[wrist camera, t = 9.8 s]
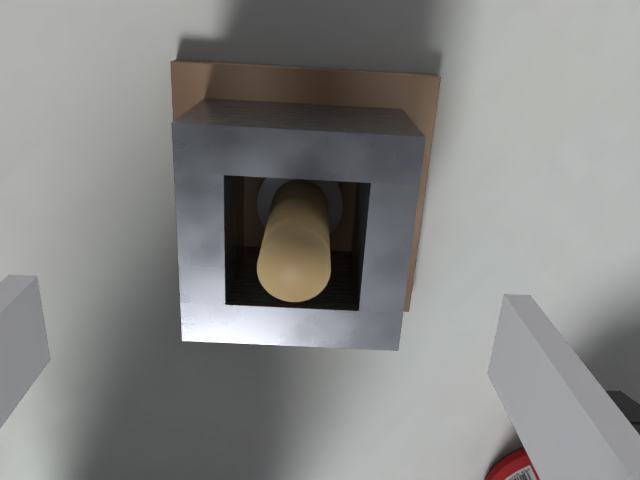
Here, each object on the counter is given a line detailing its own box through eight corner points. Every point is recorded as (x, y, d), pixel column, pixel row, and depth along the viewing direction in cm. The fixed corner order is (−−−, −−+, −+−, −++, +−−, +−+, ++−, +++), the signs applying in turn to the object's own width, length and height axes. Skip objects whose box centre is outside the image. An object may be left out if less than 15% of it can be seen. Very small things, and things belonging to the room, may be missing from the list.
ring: (208, 276, 28) (182, 340, 23) (204, 97, 25) (171, 122, 19) (382, 284, 29) (398, 350, 23) (402, 109, 25) (426, 136, 20)
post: (185, 291, 30) (134, 400, 22) (175, 59, 25) (106, 84, 17) (406, 302, 30) (439, 413, 22) (436, 75, 26) (493, 106, 17)
